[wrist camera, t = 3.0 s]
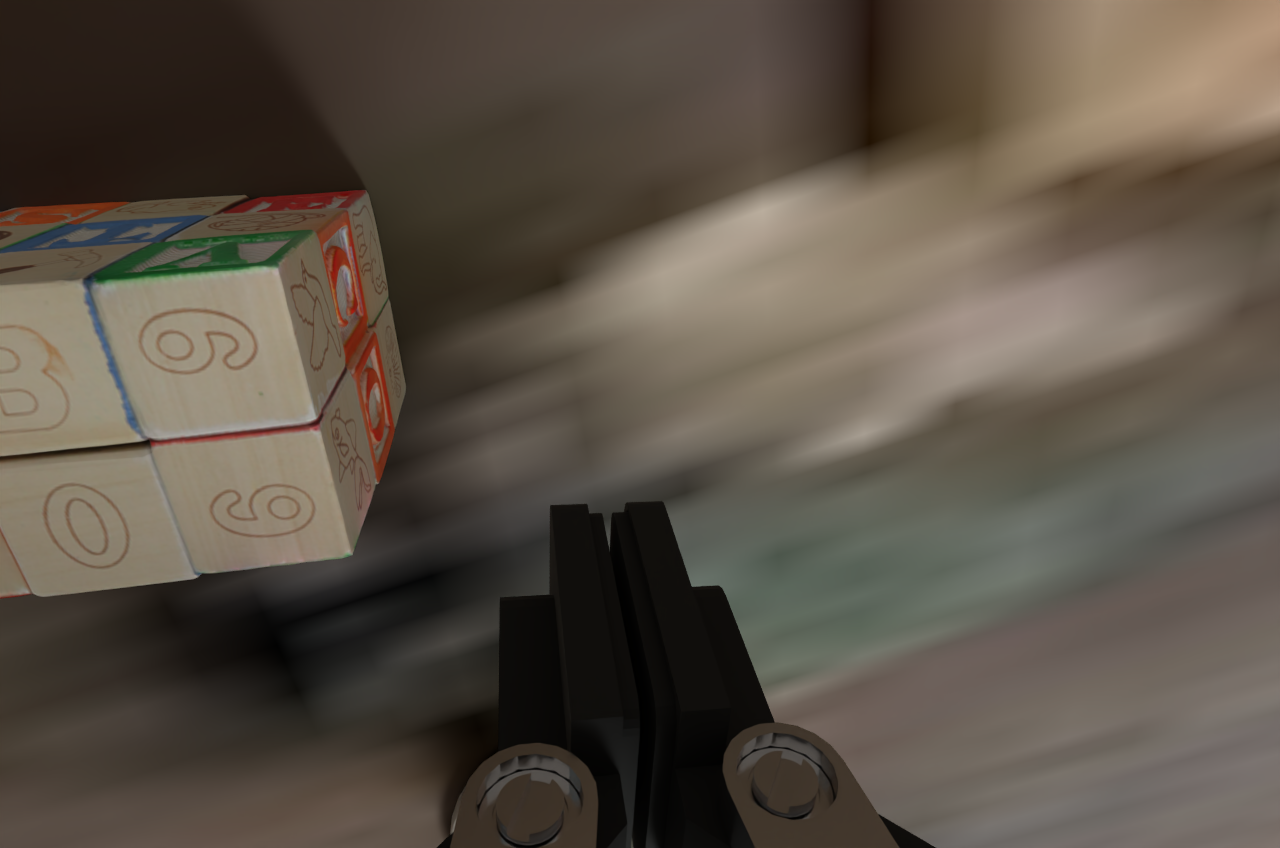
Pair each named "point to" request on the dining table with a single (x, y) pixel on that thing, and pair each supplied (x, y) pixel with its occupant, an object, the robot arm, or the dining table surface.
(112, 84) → the dining table surface
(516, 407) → the dining table surface
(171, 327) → the stack of blocks
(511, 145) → the dining table surface
